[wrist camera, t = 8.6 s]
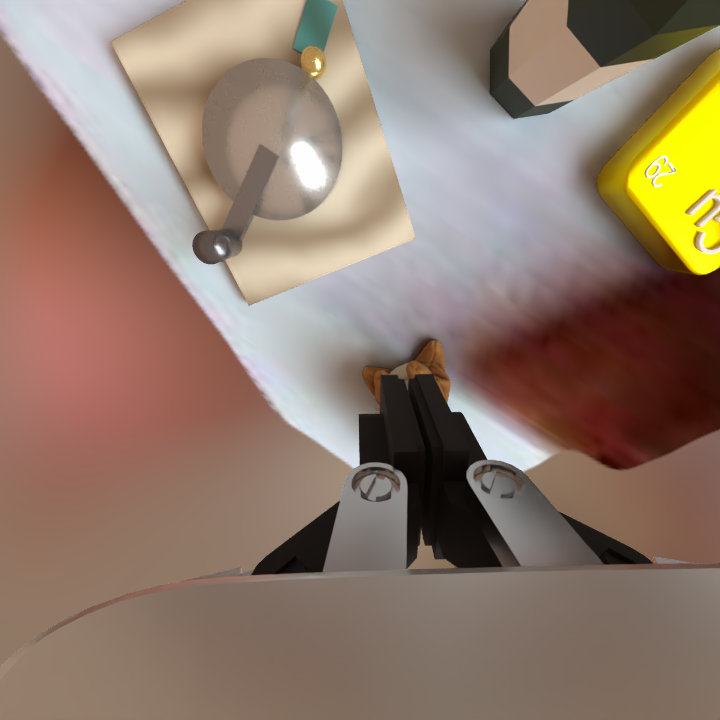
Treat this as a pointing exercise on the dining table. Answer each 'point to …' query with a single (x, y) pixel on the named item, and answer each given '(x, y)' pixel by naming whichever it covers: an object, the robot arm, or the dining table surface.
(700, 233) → the element tile
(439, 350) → the stuffed squirrel
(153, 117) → the stand board
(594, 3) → the wine bottle
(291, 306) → the dining table surface
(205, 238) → the silver rounded piece
